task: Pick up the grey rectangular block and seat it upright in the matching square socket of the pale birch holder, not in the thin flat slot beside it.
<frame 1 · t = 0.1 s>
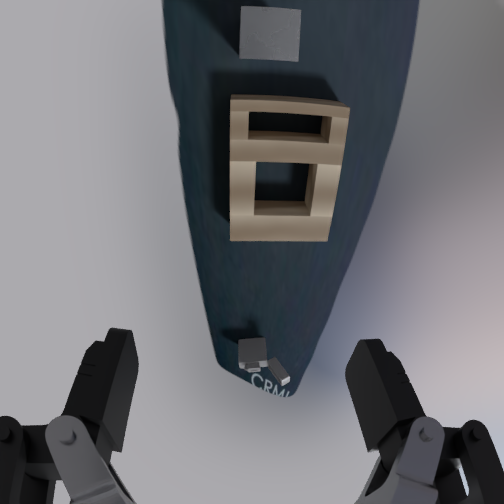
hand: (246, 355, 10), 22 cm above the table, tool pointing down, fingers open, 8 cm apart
lighter: (261, 339, 47), on the table
holder: (281, 165, 29), on the table
grey rectangular block: (259, 38, 22), on the table
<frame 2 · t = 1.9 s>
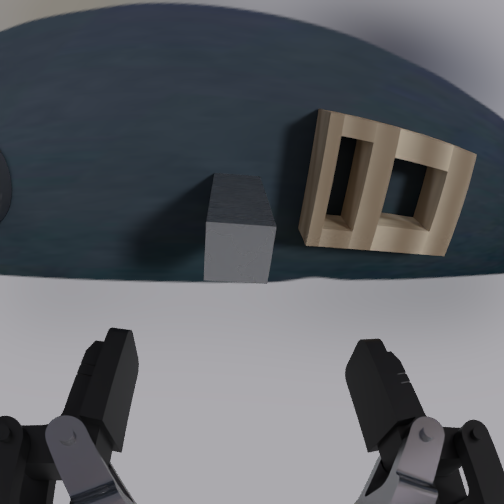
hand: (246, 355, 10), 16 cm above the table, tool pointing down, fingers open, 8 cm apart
holder: (385, 182, 24), on the table
grey rectangular block: (235, 195, 24), on the table
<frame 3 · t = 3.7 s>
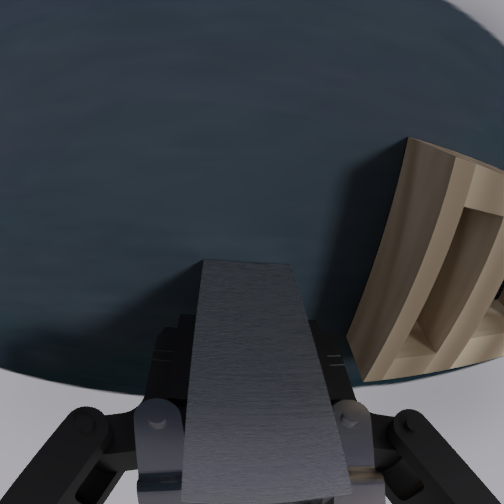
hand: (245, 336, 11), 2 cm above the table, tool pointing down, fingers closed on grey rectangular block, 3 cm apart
holder: (480, 260, 13), on the table
grey rectangular block: (243, 297, 13), on the table, touching gripper
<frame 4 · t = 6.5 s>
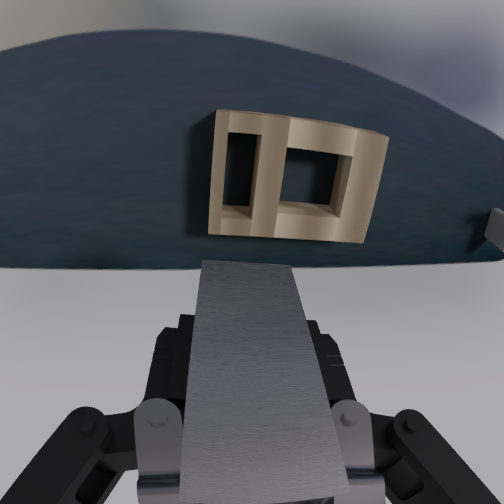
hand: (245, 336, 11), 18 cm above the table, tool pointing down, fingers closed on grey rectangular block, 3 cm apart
lighter: (493, 211, 30), on the table
holder: (292, 172, 26), on the table
grey rectangular block: (242, 297, 13), point 16 cm above the table, touching gripper
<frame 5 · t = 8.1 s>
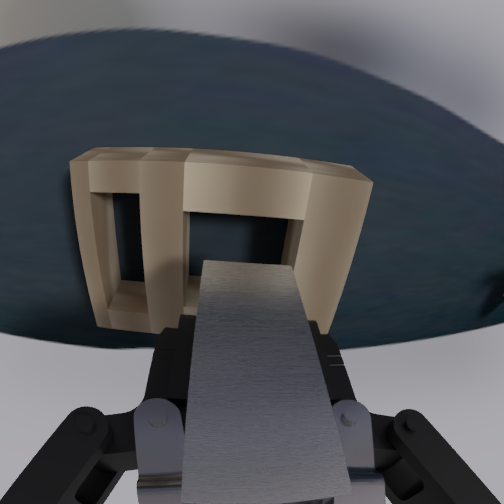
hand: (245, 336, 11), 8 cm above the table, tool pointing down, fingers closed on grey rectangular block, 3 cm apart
holder: (215, 237, 18), on the table
grey rectangular block: (243, 297, 13), point 5 cm above the table, touching gripper
when the fingers open (4 cm above the table, at t = 9.3 s): grey rectangular block stays where it is, resting in holder.
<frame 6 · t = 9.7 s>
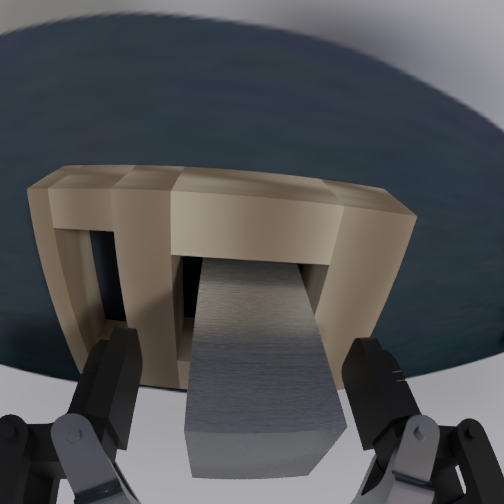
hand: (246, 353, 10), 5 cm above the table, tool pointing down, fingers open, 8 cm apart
holder: (215, 275, 14), on the table
grey rectangular block: (243, 268, 14), resting in holder
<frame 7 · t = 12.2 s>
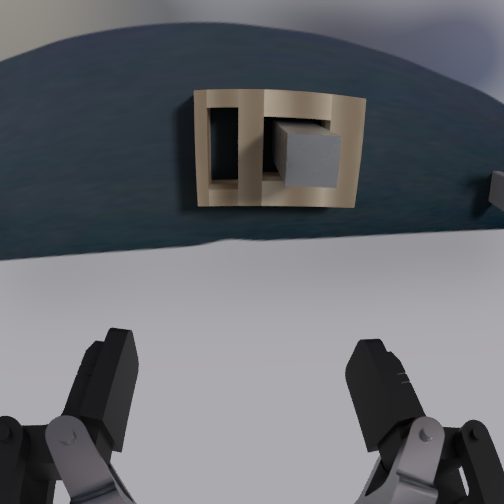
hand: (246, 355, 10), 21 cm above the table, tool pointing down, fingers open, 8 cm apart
lighter: (495, 174, 28), on the table
holder: (277, 143, 27), on the table
grey rectangular block: (291, 139, 27), resting in holder
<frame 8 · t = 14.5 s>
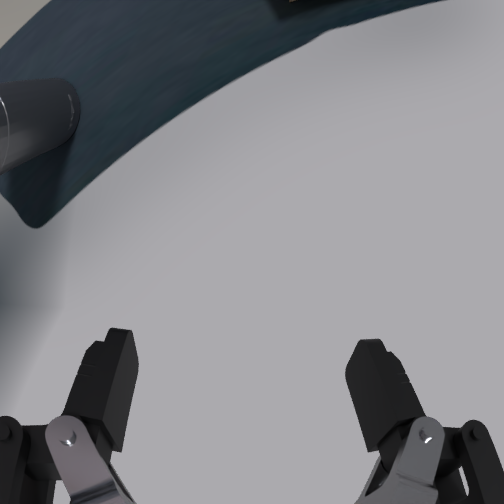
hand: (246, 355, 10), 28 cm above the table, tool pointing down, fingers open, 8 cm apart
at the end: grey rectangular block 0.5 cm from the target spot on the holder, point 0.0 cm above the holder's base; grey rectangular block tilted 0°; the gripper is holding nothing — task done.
